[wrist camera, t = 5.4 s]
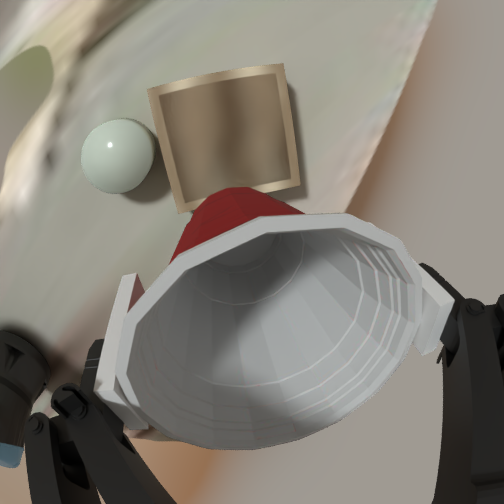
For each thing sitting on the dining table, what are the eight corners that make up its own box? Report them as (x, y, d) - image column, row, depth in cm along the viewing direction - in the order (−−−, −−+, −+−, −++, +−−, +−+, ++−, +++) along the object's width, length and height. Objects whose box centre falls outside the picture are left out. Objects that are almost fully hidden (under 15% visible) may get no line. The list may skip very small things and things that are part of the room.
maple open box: (179, 201, 35) (178, 213, 31) (151, 90, 28) (146, 89, 24) (289, 176, 36) (300, 185, 33) (272, 67, 29) (283, 63, 26)
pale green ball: (103, 191, 32) (93, 202, 29) (84, 131, 28) (72, 135, 25) (163, 173, 33) (160, 181, 29) (147, 109, 29) (141, 110, 25)
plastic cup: (347, 201, 19) (470, 311, 9) (256, 313, 23) (300, 455, 12) (212, 105, 15) (252, 116, 5) (125, 253, 18) (81, 416, 8)
